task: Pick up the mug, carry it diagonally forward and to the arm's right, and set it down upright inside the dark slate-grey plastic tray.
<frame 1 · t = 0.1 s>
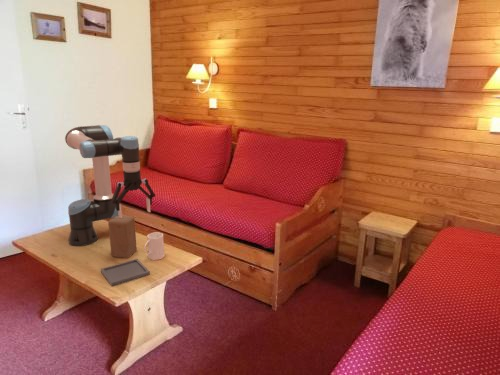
hand: (134, 214, 176), 28 cm above the table, fingers open, 13 cm apart
wooden block: (124, 254, 198), on the table
mug: (153, 257, 195), on the table
tray: (125, 273, 178), on the table
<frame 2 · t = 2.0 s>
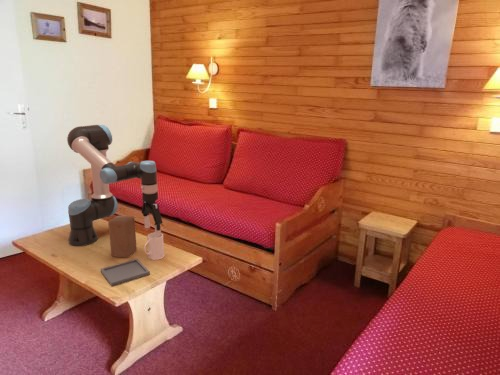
hand: (152, 231, 191), 14 cm above the table, fingers open, 13 cm apart
nothing on the table moved.
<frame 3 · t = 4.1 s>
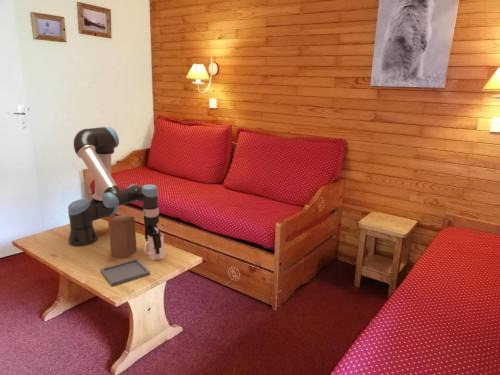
hand: (153, 255, 195), 1 cm above the table, fingers closed on mug, 8 cm apart
mug: (154, 257, 195), on the table, touching gripper
everything else where it was.
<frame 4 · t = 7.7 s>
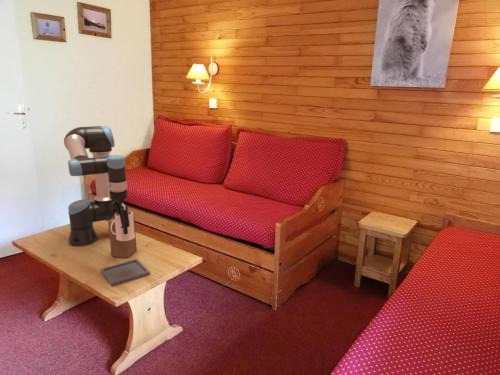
hand: (122, 236, 173), 19 cm above the table, fingers closed on mug, 8 cm apart
mug: (122, 238, 173), point 18 cm above the table, touching gripper
everything else where it was.
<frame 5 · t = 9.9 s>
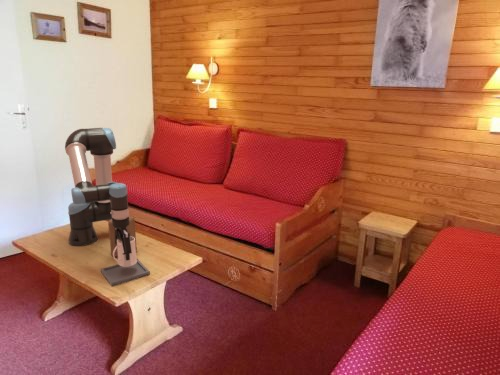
hand: (124, 262, 177), 6 cm above the table, fingers closed on mug, 8 cm apart
mug: (124, 264, 177), point 5 cm above the table, touching gripper
everything else where it was.
when the fingers open (3 cm above the table, at t = 11.5 s): mug drops 1 cm, resting on tray.
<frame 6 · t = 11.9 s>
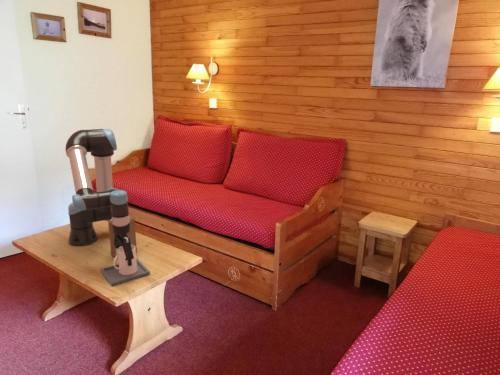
hand: (124, 265, 177), 4 cm above the table, fingers open, 13 cm apart
mug: (125, 272, 178), point 1 cm above the table, touching tray
everything else where it was.
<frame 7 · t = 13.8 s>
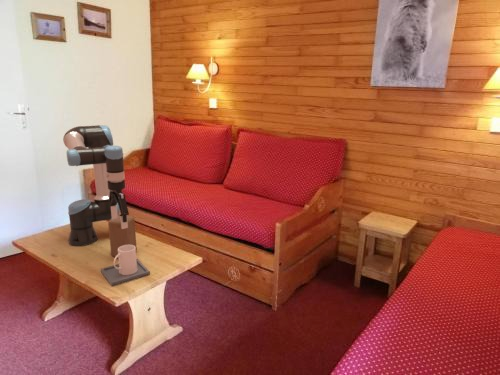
hand: (119, 223, 176), 24 cm above the table, fingers open, 13 cm apart
nothing on the table moved.
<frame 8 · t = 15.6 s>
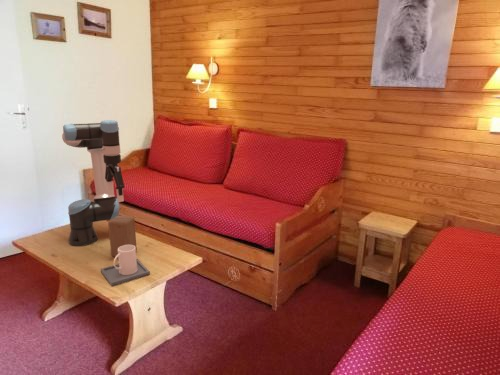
hand: (115, 198, 178), 35 cm above the table, fingers open, 13 cm apart
nothing on the table moved.
at the end: mug inside the target area on the tray (0.2 cm from its centre), point 0.6 cm above the tray's base; mug tilted 0°; the gripper is holding nothing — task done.
